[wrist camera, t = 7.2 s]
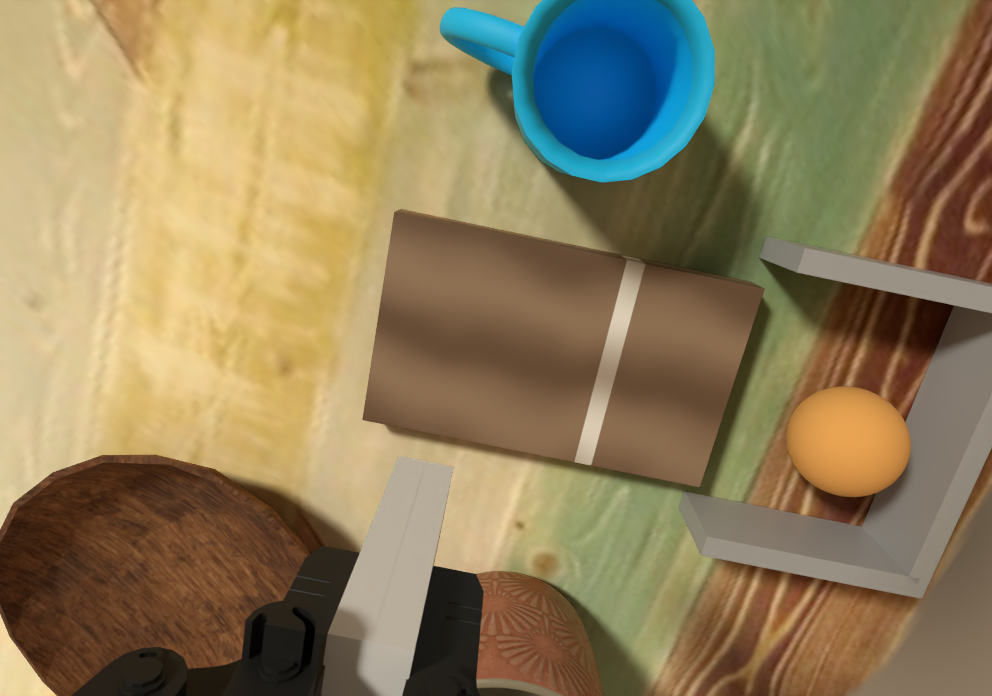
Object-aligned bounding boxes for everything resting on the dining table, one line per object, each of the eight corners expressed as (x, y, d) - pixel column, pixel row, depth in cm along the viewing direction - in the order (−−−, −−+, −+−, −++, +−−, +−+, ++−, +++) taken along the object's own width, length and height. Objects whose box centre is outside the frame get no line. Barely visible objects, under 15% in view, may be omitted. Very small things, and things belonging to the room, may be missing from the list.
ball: (794, 382, 33) (922, 434, 30) (825, 359, 38) (938, 403, 35) (755, 477, 36) (870, 535, 32) (788, 445, 40) (892, 494, 37)
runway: (401, 209, 35) (394, 211, 33) (751, 282, 36) (764, 288, 34) (370, 407, 39) (362, 419, 37) (690, 471, 39) (699, 487, 37)
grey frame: (765, 236, 35) (805, 247, 30) (986, 282, 35) (1059, 301, 31) (679, 508, 40) (700, 555, 35) (873, 546, 40) (921, 598, 35)
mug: (696, 49, 33) (752, 14, 25) (628, 201, 35) (660, 212, 27) (478, -46, 32) (465, -114, 24) (423, 115, 34) (394, 101, 26)
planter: (539, 518, 41) (547, 643, 30) (625, 661, 43) (659, 821, 33) (375, 595, 43) (328, 737, 32) (467, 727, 45) (452, 897, 35)
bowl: (234, 367, 38) (193, 397, 34) (417, 640, 43) (404, 699, 39) (-13, 501, 42) (-82, 545, 37) (185, 740, 47) (147, 806, 42)
